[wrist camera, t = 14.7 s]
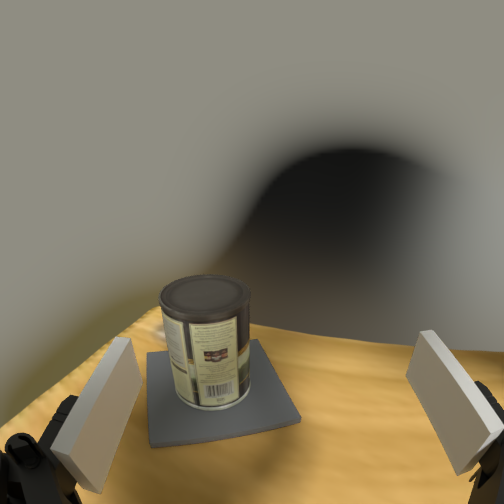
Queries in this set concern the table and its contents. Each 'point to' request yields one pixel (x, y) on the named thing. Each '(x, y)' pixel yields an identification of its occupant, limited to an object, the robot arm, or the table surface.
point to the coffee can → (208, 339)
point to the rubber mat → (219, 421)
